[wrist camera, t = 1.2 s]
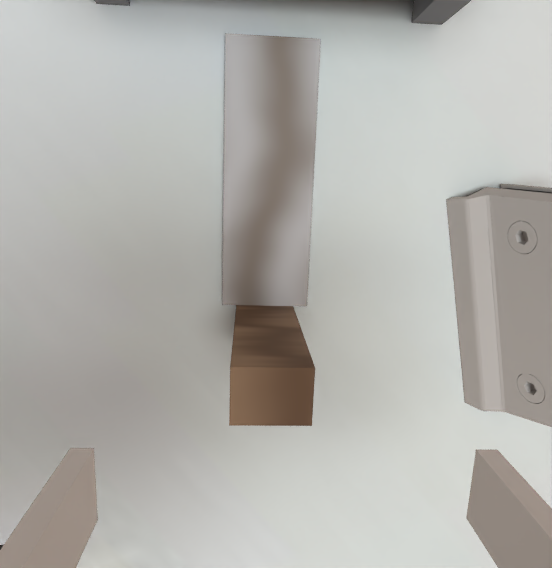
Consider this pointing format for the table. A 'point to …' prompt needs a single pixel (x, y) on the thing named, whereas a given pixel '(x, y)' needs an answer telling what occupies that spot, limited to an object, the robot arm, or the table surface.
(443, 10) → the low cabinet
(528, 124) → the table surface
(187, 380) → the table surface
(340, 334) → the table surface
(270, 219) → the wooden block bookend
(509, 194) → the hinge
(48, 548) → the robot arm
